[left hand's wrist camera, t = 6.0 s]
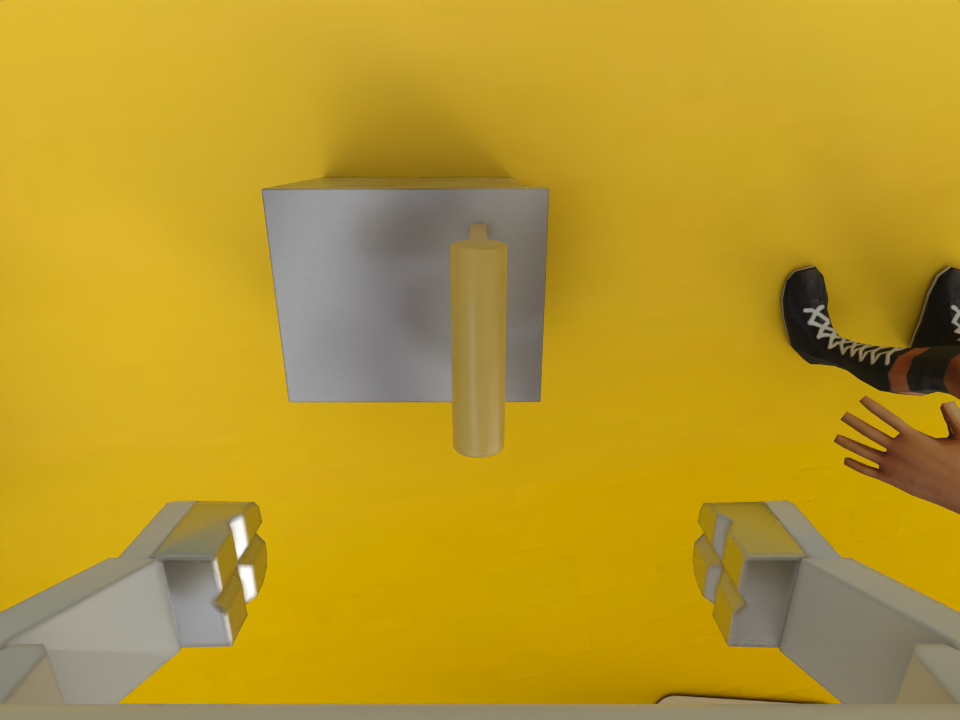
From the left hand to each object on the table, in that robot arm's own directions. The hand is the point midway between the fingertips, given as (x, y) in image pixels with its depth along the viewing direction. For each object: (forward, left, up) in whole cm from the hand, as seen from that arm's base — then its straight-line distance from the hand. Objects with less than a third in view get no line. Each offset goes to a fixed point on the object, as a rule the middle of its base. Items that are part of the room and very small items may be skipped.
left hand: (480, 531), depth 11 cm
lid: (+3, 0, -18) cm, 18 cm away
